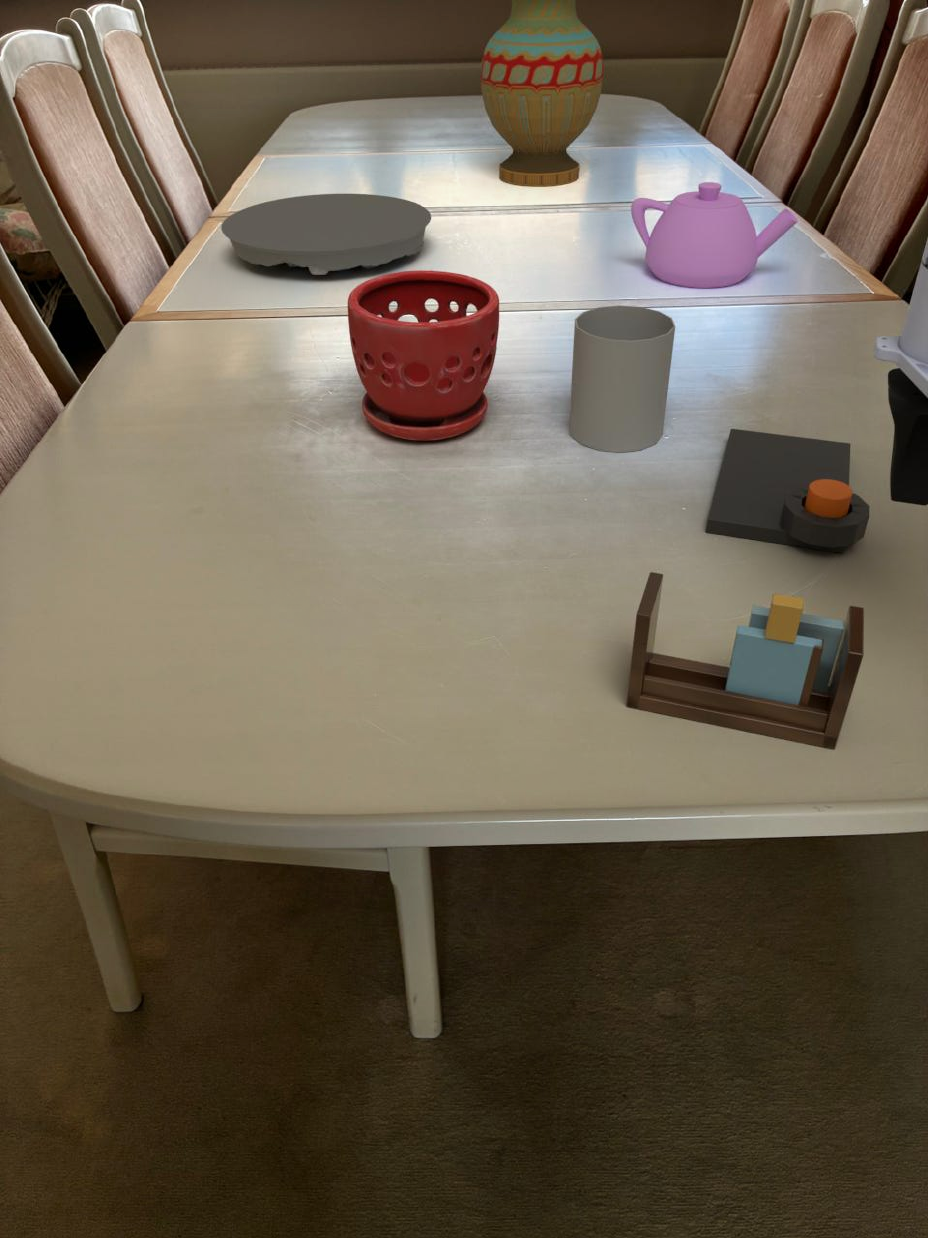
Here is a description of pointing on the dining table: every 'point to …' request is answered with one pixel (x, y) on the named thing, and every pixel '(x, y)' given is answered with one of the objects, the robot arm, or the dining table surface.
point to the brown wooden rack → (704, 697)
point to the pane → (776, 656)
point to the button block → (783, 492)
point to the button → (828, 498)
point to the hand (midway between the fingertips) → (908, 497)
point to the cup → (620, 377)
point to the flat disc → (328, 231)
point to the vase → (541, 89)
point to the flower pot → (424, 352)
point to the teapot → (705, 237)
